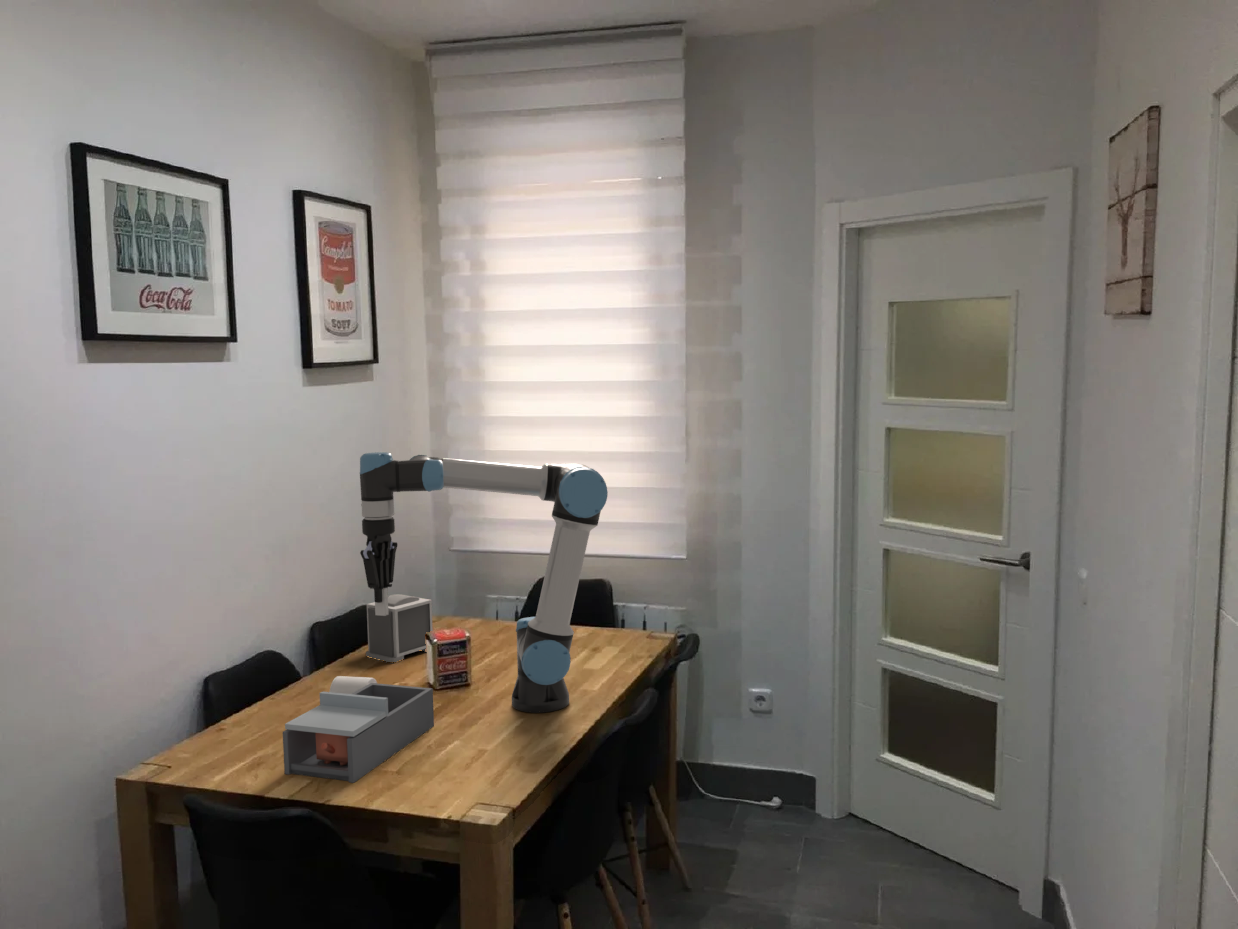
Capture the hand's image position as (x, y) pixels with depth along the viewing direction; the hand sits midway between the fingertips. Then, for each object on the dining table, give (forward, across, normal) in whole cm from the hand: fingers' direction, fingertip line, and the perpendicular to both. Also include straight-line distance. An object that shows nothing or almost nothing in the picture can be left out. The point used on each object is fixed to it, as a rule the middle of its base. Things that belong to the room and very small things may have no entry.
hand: (381, 614), depth 232 cm
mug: (+30, -17, -19) cm, 39 cm away
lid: (+20, +20, 0) cm, 28 cm away
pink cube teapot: (+29, +20, 0) cm, 35 cm away
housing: (+29, +10, 0) cm, 31 cm away
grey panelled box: (+30, -63, -33) cm, 77 cm away
